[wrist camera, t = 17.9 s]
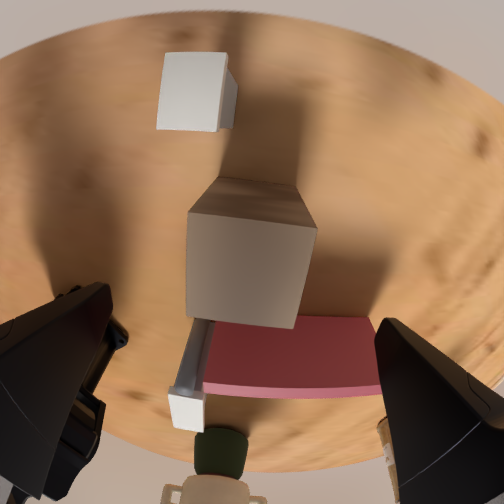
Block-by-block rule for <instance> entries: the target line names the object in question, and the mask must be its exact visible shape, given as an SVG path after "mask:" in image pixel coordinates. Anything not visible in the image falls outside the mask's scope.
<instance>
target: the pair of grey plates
mask: <svg viewBox="0 0 504 504" xmlns="http://www.w3.org/2000/svg"><path fill="white" fill-rule="evenodd" d="M228 58H229V57H228V55H227V53H225V52H168V53H165V59H164V66H163V72H162V80H161V88H160V96H159V105H158V115H157V126H156V129H164V130H191V131H208V132H219V128H233V124H234V115H235V107H236V99H237V92H238V85H237V83H236V81H235V80H234V78H233V76H232V75H231V73H230V71H229V70H228V68H227V65H228ZM214 328H215V323H214V322H210V320H209V319H202V318H196V320H194V322H193V325H192V329H191V332H190V335H189V338H188V341H187V345H186V348H185V351H184V354H183V358H182V361H181V364H180V368H179V371H178V374H177V378H176V381H175V384H174V387H172V386H170V388H169V391H168V399H169V404H170V410H171V415H172V420H173V425H174V427H175V428H180V429H185V430H191V431H196V432H202V433H203V432H204V426H205V423H204V408H205V403H206V397H207V393H204V388H203V380H204V375H205V370H206V365H207V361H208V356H209V351H210V346H211V342H212V337H213V333H214Z"/></svg>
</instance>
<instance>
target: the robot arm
mask: <svg viewBox="0 0 504 504" xmlns="http://www.w3.org/2000/svg"><path fill="white" fill-rule="evenodd" d="M112 310H113V302H112V296H111V290H110V286H109V285H108V284H107V283H102V282H96V283H93V284H91V285H88V286H86V287H84V288H81V287H79V286H75V287H74V288H73V289H72V290H71V291H70V292H69V293H68V294H67V295H65V296H64V295H63V294H59V295H58V296H57V297H56V298H55V299H54V300H53V301H52V302H49V303H47V304H45V305H43V306H40V307H38V308H36V309H34V310H31V311H29V312H27V313H25V314H23V315H20V316H18V317H16V318H15V319H12V320H9V321H7V322H5V323H3V324H1V325H0V504H25V502H26V500H27V499H28V498H30V497H34V498H36V499H38V500H40V498H41V495H42V494H43V495H44V496H46V497H48V498H50V499H51V500H53V501H58V500H60V499H62V498H63V497H65V496H66V495H67V493H68V491H69V489H70V487H71V485H72V483H73V481H74V479H75V478H76V476H77V475H78V473H79V472H80V470H81V469H82V468H83V467H84V466H85V465H87V464H88V463H89V462H90V461H91V459H92V458H93V457H94V455H95V453H96V451H97V449H98V446H99V442H100V436H101V430H102V424H103V419H104V413H105V408H106V404H105V403H104V402H103V401H101V400H99V399H97V398H96V397H95V396H94V395H93V392H94V390H95V388H96V386H97V384H98V382H99V381H100V379H101V377H102V375H103V373H104V371H105V369H106V367H107V365H108V363H109V361H110V360H111V358H112V356H113V354H114V352H115V351H116V350H118V349H120V348H122V347H124V346H125V345H126V344H127V343H128V338H127V336H125V335H124V334H123V333H122V332H121V331H120V330H119V329H118V327H117V326H116V325H115V324H114V323H113V322H112V321H111V320H110V319H109V318H110V316H111V313H112ZM374 346H375V352H376V360H377V367H378V375H379V381H380V386H381V390H382V395H383V399H384V404H385V409H386V414H387V419H388V424H389V429H390V434H391V440H392V446H393V452H394V459H395V466H396V473H397V481H398V487H399V488H398V491H399V500H400V504H504V398H503V397H501V396H500V395H499V394H497V393H496V392H494V391H493V390H491V389H490V388H488V387H487V386H486V385H484V384H483V383H481V382H480V381H479V380H478V379H476V378H475V377H474V376H472V375H471V374H470V373H468V372H466V370H464V369H463V368H462V367H461V366H459V365H458V364H457V363H455V362H454V361H453V360H451V359H450V358H449V357H447V356H446V355H445V354H443V353H442V352H441V351H439V350H438V349H437V348H435V347H434V346H433V345H431V344H430V343H429V342H427V341H426V340H425V339H423V338H422V337H421V336H419V335H418V334H417V333H415V332H414V331H413V330H411V329H410V328H408V327H407V326H406V325H404V324H403V323H402V322H400V321H399V320H397V319H396V318H387V317H386V318H384V319H383V320H382V322H381V324H380V326H379V328H378V331H377V333H376V335H375V338H374Z"/></svg>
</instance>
